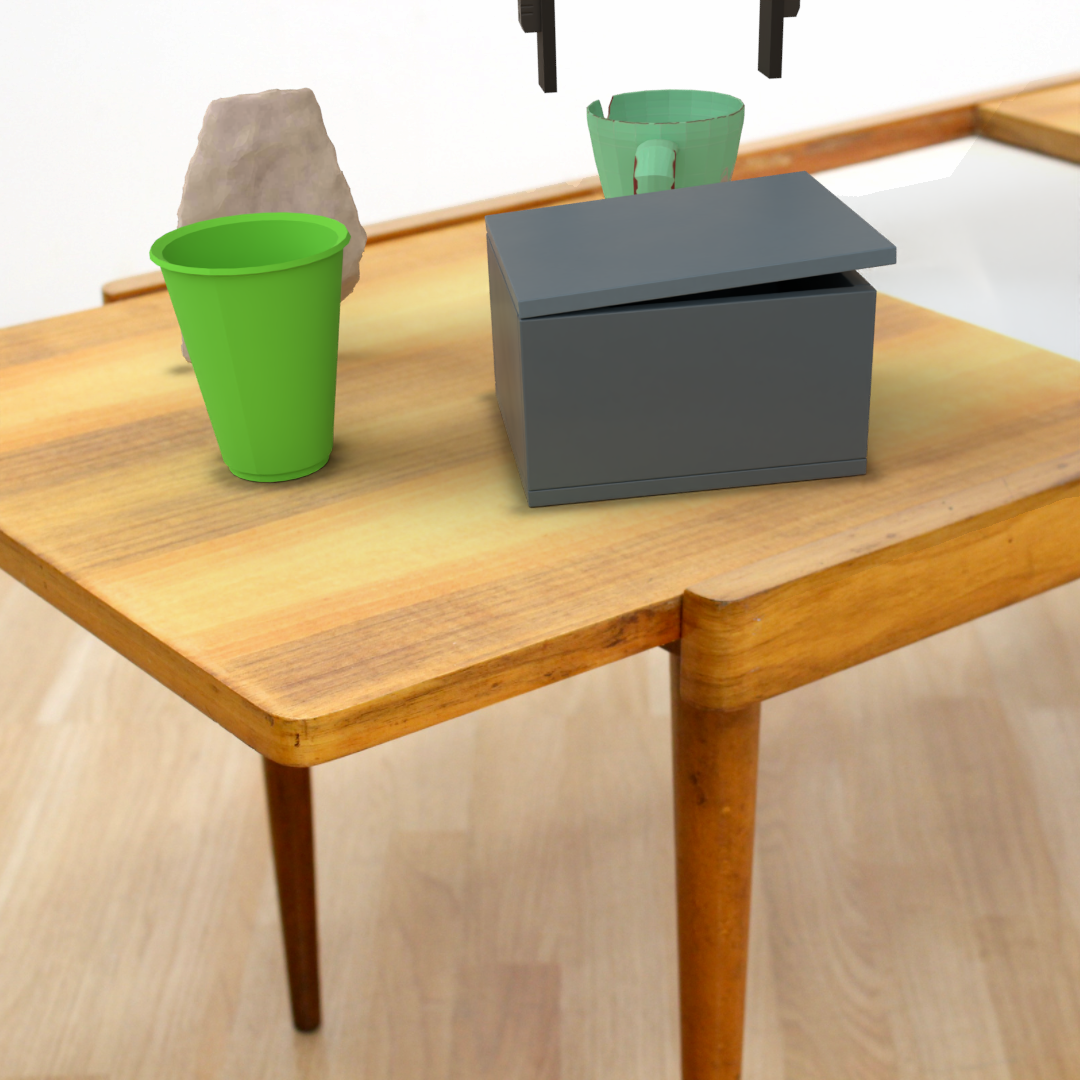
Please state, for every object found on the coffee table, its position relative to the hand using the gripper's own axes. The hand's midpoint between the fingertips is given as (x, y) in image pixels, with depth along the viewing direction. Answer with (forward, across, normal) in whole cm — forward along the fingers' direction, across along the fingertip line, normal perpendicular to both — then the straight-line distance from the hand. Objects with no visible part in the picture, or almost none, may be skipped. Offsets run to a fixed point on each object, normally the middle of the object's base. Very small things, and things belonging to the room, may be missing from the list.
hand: (659, 82), depth 93 cm
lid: (+2, +4, +25) cm, 26 cm away
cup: (+12, +24, +24) cm, 36 cm away
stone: (+12, +24, +10) cm, 29 cm away
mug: (+12, 0, 0) cm, 12 cm away
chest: (+12, +5, +25) cm, 28 cm away
